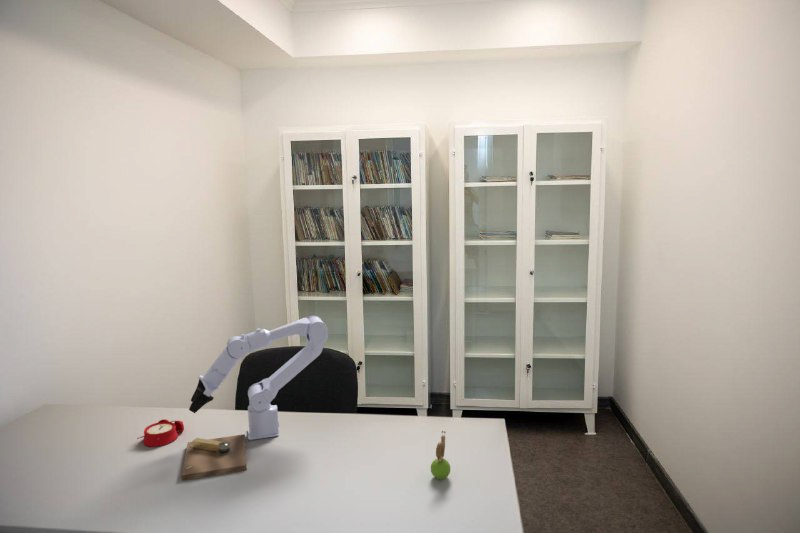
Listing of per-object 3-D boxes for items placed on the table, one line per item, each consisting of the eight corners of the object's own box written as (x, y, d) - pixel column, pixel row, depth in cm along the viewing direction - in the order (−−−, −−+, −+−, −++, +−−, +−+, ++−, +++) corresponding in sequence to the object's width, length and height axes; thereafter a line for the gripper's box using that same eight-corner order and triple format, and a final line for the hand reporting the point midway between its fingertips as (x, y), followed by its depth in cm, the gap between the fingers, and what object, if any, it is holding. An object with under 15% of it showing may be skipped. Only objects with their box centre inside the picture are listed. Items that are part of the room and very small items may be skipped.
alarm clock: (131, 436, 165) (161, 407, 178) (136, 452, 167) (165, 422, 181) (161, 439, 163) (189, 409, 176) (165, 456, 165) (192, 425, 178)
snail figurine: (453, 472, 148) (453, 431, 146) (447, 484, 142) (447, 442, 140) (434, 469, 150) (434, 429, 148) (428, 481, 144) (428, 439, 142)
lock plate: (245, 438, 170) (244, 433, 170) (246, 469, 151) (246, 464, 151) (188, 446, 165) (187, 441, 165) (182, 480, 146) (181, 474, 146)
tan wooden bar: (232, 449, 159) (231, 442, 159) (225, 454, 156) (225, 447, 156) (198, 443, 163) (198, 437, 163) (191, 448, 160) (190, 441, 160)
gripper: (209, 357, 172) (183, 392, 170) (207, 370, 158) (179, 408, 157) (227, 368, 174) (202, 403, 173) (227, 383, 160) (200, 420, 159)
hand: (192, 406), depth 165 cm, fingers open, 7 cm apart
